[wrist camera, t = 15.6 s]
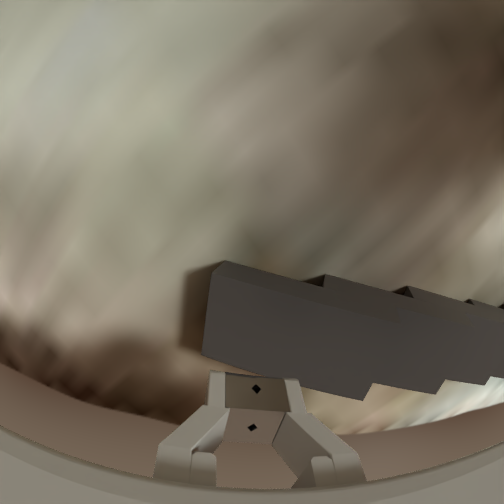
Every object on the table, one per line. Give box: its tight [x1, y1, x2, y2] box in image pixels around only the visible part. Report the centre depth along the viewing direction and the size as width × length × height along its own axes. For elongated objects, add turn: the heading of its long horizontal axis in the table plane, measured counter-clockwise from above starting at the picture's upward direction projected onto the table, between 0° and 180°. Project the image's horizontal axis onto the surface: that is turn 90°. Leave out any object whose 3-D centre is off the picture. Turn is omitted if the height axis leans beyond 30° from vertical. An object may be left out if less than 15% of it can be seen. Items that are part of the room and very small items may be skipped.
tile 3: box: [404, 286, 504, 385], centre depth 15 cm, size 2×4×8 cm
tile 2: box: [322, 274, 474, 394], centre depth 14 cm, size 2×4×8 cm
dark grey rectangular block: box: [201, 261, 401, 401], centre depth 14 cm, size 2×4×8 cm
